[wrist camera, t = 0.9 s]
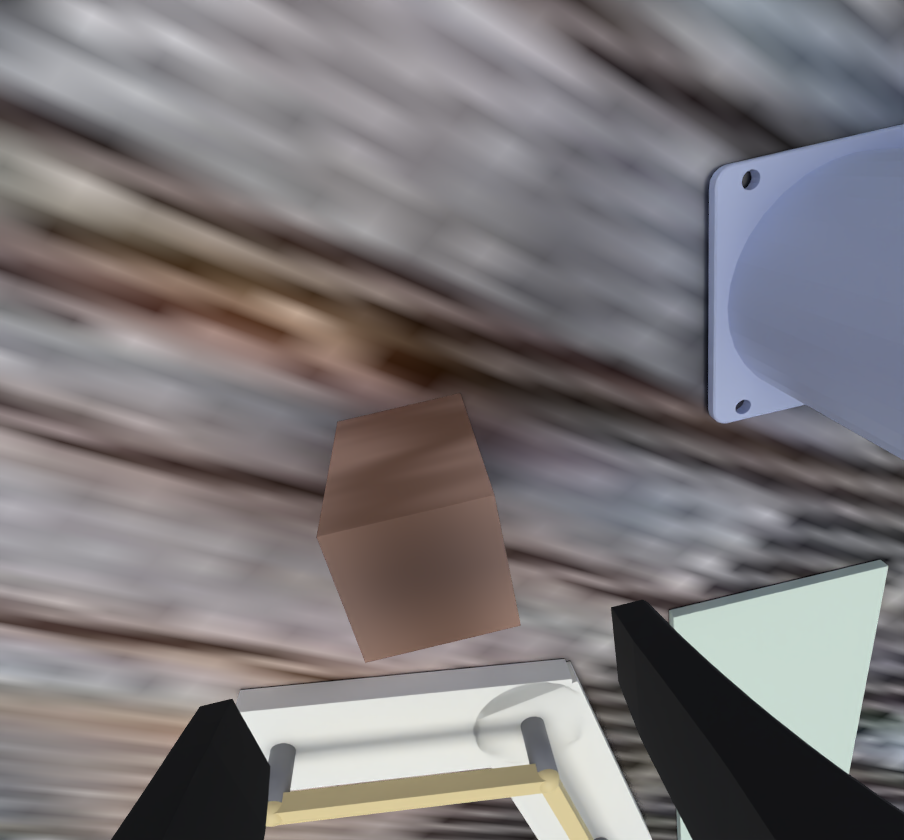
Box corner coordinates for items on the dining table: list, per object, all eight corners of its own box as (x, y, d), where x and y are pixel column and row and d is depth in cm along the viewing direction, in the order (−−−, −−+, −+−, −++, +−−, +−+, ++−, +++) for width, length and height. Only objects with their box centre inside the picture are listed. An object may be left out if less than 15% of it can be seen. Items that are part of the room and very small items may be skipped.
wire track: (625, 597, 22) (668, 675, 19) (644, 830, 29) (678, 916, 26) (215, 695, 22) (184, 792, 18) (337, 905, 29) (331, 1002, 26)
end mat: (880, 559, 23) (888, 565, 22) (833, 819, 31) (838, 827, 30) (668, 610, 22) (673, 617, 22) (678, 857, 31) (681, 866, 30)
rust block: (460, 392, 17) (494, 495, 12) (482, 495, 19) (520, 625, 14) (337, 421, 17) (316, 537, 12) (370, 522, 19) (365, 662, 14)
